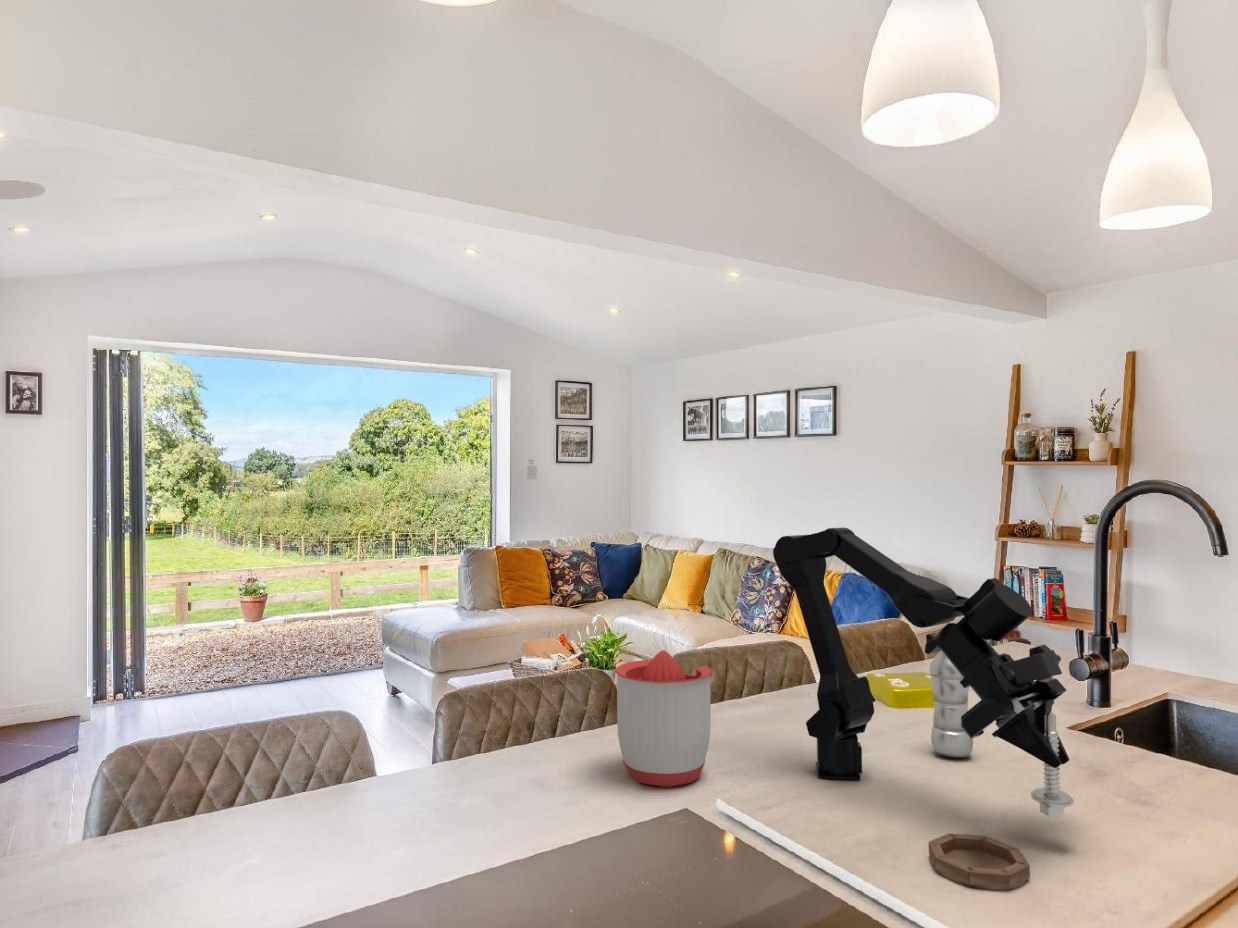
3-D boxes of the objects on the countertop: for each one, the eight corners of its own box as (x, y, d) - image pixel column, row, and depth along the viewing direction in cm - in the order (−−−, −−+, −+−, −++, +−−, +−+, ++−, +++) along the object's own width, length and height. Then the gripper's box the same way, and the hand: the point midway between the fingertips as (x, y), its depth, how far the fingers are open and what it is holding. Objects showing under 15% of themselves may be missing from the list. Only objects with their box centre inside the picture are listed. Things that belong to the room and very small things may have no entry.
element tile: (961, 708, 165) (960, 685, 165) (892, 710, 164) (892, 687, 164) (926, 690, 180) (926, 669, 180) (863, 692, 179) (863, 671, 179)
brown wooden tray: (940, 885, 91) (940, 869, 91) (923, 844, 101) (922, 830, 101) (1039, 894, 88) (1039, 878, 89) (1011, 851, 99) (1011, 837, 99)
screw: (1025, 813, 101) (1038, 802, 104) (1067, 824, 97) (1079, 812, 101) (1023, 711, 101) (1036, 703, 104) (1065, 719, 98) (1076, 711, 101)
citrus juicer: (738, 770, 128) (737, 647, 129) (671, 802, 115) (670, 665, 116) (664, 749, 139) (663, 636, 139) (595, 776, 126) (595, 650, 127)
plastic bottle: (977, 763, 131) (975, 642, 132) (934, 760, 132) (932, 641, 133) (968, 750, 137) (966, 635, 138) (927, 748, 139) (925, 634, 139)
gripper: (983, 634, 99) (1078, 746, 90) (1050, 618, 110) (1140, 716, 101) (925, 684, 105) (1010, 793, 96) (995, 664, 116) (1076, 760, 107)
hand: (1062, 764), depth 100 cm, fingers closed on screw, 2 cm apart
